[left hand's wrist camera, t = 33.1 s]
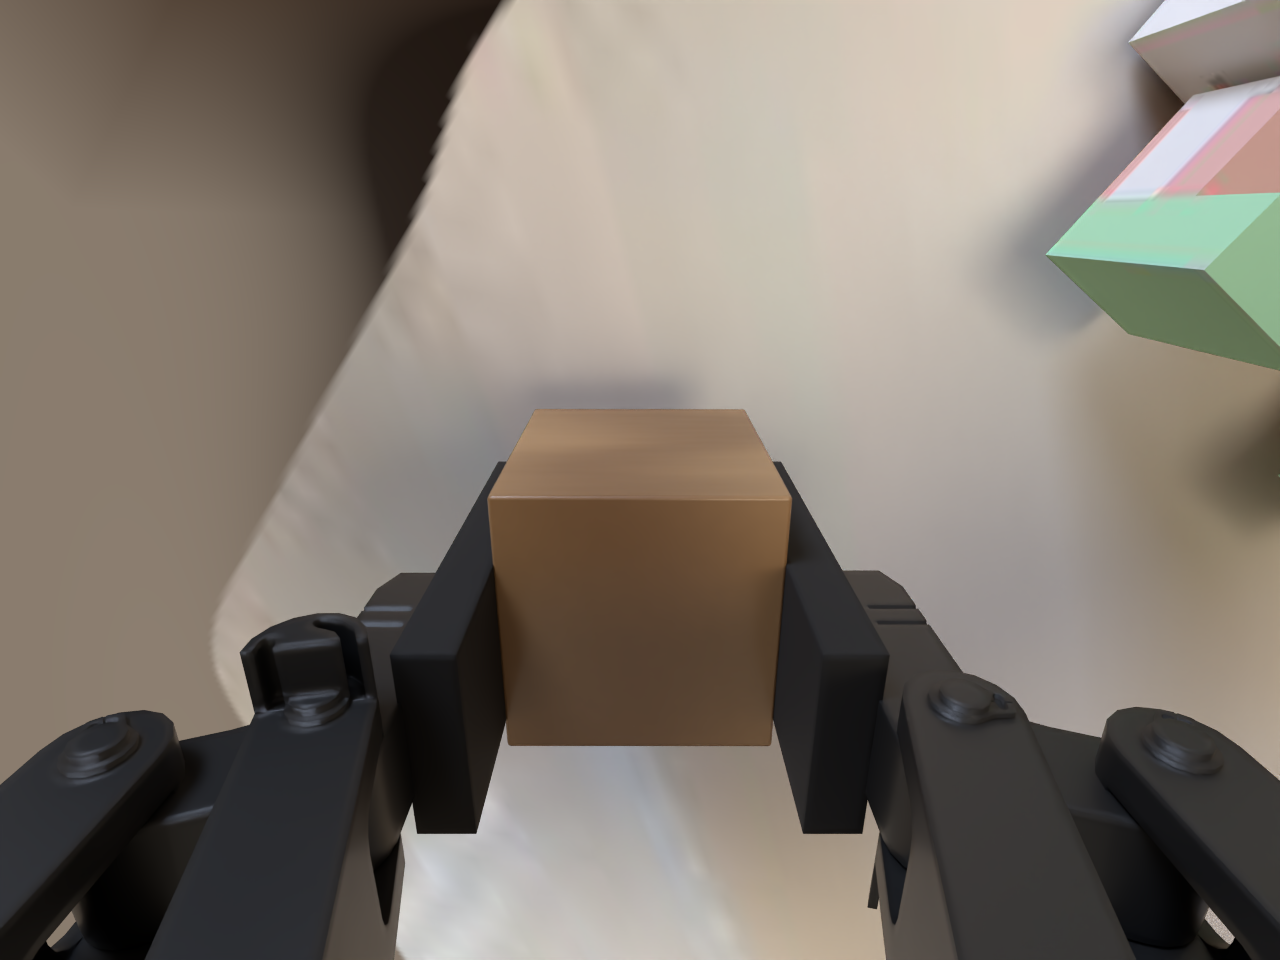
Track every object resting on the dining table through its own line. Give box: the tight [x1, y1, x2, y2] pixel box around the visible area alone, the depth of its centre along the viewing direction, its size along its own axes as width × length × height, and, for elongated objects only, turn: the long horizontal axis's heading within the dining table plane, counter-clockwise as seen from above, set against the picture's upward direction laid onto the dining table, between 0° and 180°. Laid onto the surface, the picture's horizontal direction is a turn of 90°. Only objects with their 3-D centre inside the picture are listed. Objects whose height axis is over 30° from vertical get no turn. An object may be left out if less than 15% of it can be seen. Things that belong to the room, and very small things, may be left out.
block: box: [487, 409, 792, 746], centre depth 12 cm, size 4×4×5 cm
